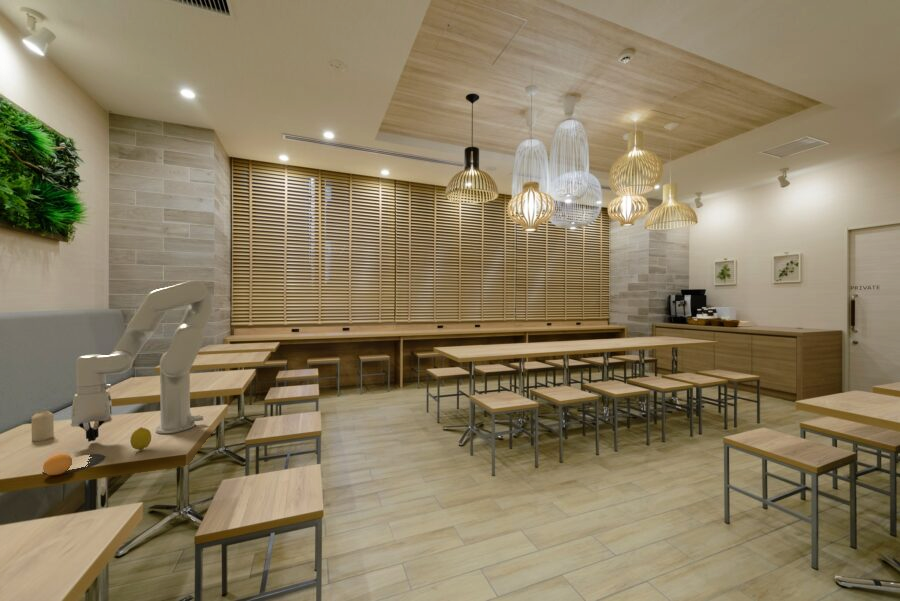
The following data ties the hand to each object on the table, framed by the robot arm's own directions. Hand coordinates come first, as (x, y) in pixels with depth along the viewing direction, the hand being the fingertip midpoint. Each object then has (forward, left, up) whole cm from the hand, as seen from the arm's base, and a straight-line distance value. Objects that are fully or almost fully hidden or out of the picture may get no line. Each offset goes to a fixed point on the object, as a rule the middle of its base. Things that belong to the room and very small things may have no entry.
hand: (92, 439), depth 134 cm
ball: (+2, +25, +2) cm, 26 cm away
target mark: (0, +19, -1) cm, 19 cm away
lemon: (-16, +17, -2) cm, 23 cm away
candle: (+17, -16, -2) cm, 23 cm away
